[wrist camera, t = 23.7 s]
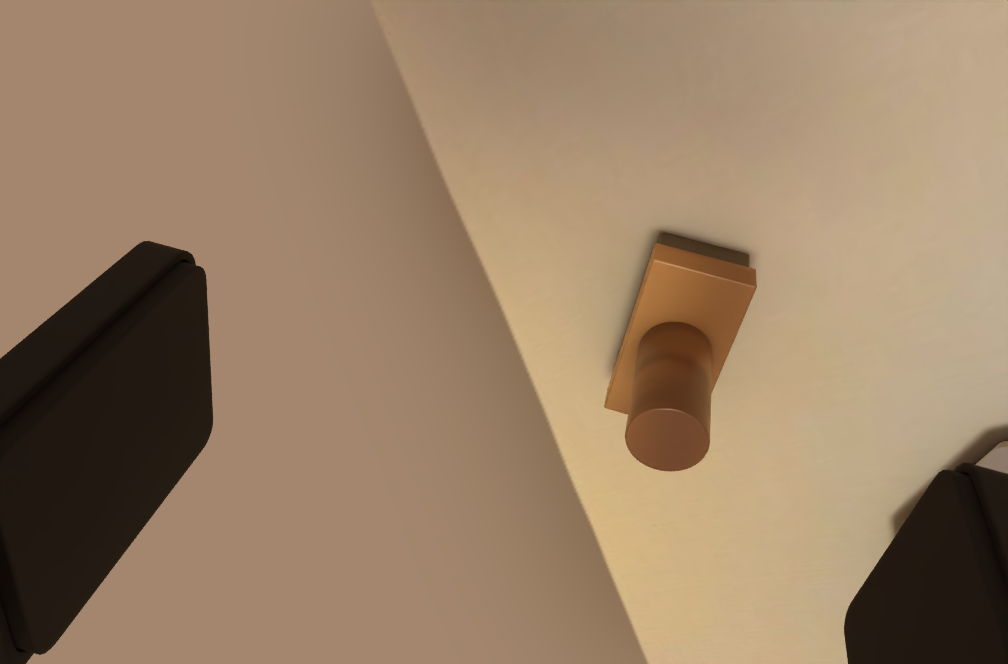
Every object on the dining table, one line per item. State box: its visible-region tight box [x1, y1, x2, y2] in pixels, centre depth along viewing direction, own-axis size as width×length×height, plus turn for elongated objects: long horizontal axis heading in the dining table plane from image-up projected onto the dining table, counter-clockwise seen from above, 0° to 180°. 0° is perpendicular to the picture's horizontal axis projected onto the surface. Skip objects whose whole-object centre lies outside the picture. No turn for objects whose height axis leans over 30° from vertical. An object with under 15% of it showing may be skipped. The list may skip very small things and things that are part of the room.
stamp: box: [604, 233, 757, 471], centre depth 36 cm, size 4×8×9 cm, turn 170°
